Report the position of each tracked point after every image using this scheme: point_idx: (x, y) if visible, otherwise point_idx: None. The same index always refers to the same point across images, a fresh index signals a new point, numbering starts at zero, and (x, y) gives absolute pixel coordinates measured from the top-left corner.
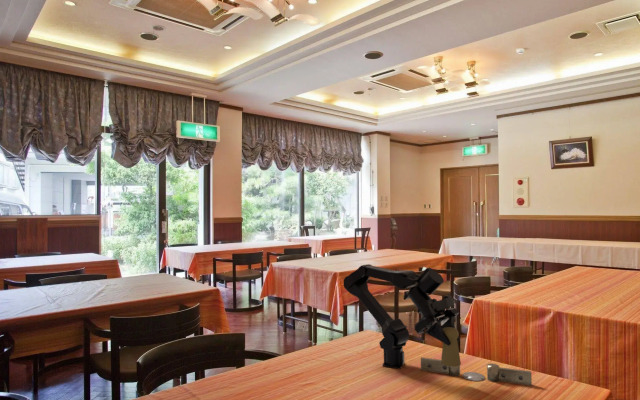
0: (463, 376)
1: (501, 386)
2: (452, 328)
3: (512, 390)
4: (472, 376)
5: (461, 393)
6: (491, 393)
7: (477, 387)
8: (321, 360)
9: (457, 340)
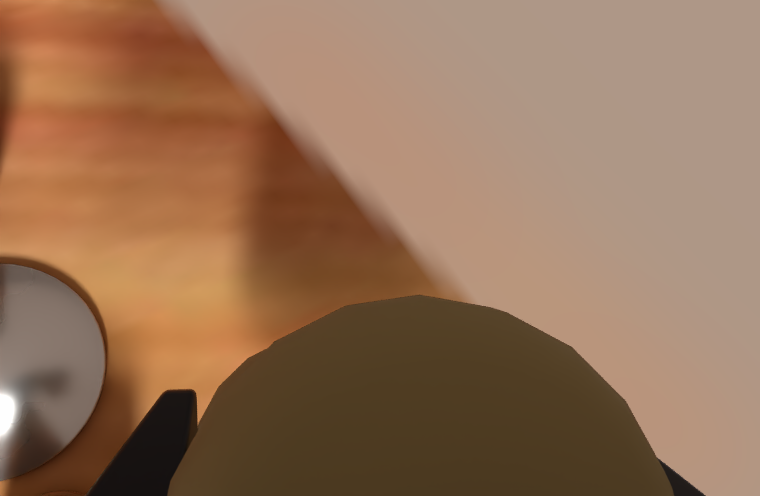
0: (74, 437)
1: (49, 95)
2: (466, 490)
3: (73, 7)
4: (11, 370)
5: (416, 274)
6: (249, 107)
7: (216, 233)
8: None
9: (195, 432)
